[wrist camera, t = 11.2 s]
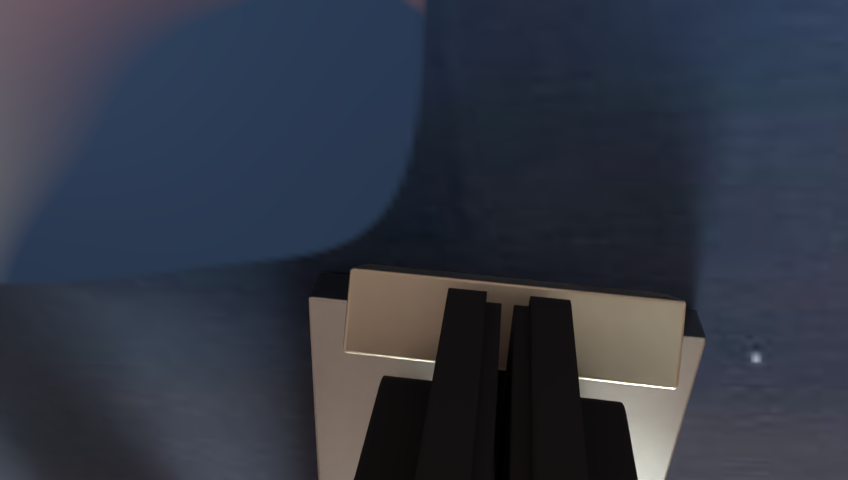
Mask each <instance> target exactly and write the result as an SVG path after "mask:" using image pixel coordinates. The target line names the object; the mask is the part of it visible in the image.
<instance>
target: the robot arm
mask: <svg viewBox="0 0 848 480" xmlns="http://www.w3.org/2000/svg"><path fill="white" fill-rule="evenodd" d="M486 299H487V291H477V290H467V289H457V288H448V293H447V298H446V304H445V310H444V315H443V321H442V327H441V333H440V338H439V344H438V350H437V355H436V361H435V367H434V373H433V378H432V381H430V380H421V379H412V378H403V377H394V376H385V375H384V376H383V377H382V379H381V382H380V385H379V388H378V392H377V396H376V399H375V403H374V407H373V410H372V414H371V418H370V422H369V425H368V429H367V433H366V436H365V440H364V444H363V447H362V451H361V455H360V458H359V462H358V466H357V470H356V473H355V477H354V480H492V476H493V457H494V439H495V420H496V402H497V383H498V364H499V346H500V327H501V308H502V303H493V302H486ZM494 480H638V477H637V472H636V466H635V460H634V454H633V449H632V443H631V437H630V431H629V426H628V420H627V414H626V410H625V407H624V405H623V403H622V402H618V401H609V400H600V399H591V398H582V397H580V388H579V378H578V367H577V357H576V347H575V336H574V326H573V316H572V305H571V301H570V300H567V299H557V298H547V297H537V296H530V300H529V305H528V306H522V305H514V308H513V315H512V323H511V332H510V340H509V349H508V357H507V365H506V374H505V382H504V390H503V399H502V407H501V415H500V424H499V432H498V440H497V449H496V460H495V475H494Z"/></svg>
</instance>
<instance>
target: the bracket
mask: <svg viewBox="0 0 848 480" xmlns="http://www.w3.org/2000/svg"><path fill="white" fill-rule="evenodd" d="M349 276H350V275H349V274H339V273H329V272H321V273H320V275H319V277H318V279H317V281H316V283H315V286H314V288H313V290H312V292H311V294H310V296H309V298H308V301H309V320H310V338H311V357H312V376H313V394H314V413H315V432H316V450H317V469H318V480H354V477H355V473H356V470H357V466H358V462H359V458H360V455H361V451H362V447H363V444H364V440H365V436H366V433H367V429H368V425H369V422H370V418H371V414H372V410H373V407H374V403H375V399H376V396H377V392H378V388H379V385H380V382H381V379H382V377H383V376H384V375H385V376H394V377H403V378H412V379H421V380H430V381H432V378H433V373H434V367H435V363H432V362H423V361H414V360H405V359H396V358H387V357H378V356H369V355H361V354H352V353H346V352H344V350H343V341H344V331H345V320H346V309H347V298H348V287H349ZM705 343H706V337H705V334H704V331H703V328H702V325H701V323H700V320H699V317H698V314H697V311H696V310H693V309H686V313H685V323H684V333H683V343H682V353H681V363H680V373H679V383H678V387H677V389H665V388H656V387H647V386H638V385H629V384H620V383H611V382H602V381H593V380H584V379H579V388H580V397H582V398H591V399H600V400H609V401H618V402H622V403H623V405H624V407H625V410H626V414H627V420H628V426H629V431H630V437H631V443H632V449H633V454H634V460H635V466H636V472H637V477H638V480H666V478H667V474H668V471H669V467H670V464H671V460H672V457H673V453H674V450H675V447H676V443H677V440H678V436H679V433H680V429H681V426H682V422H683V419H684V416H685V412H686V409H687V405H688V402H689V398H690V395H691V391H692V388H693V385H694V381H695V378H696V374H697V371H698V367H699V364H700V360H701V357H702V354H703V350H704V347H705Z"/></svg>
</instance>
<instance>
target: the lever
mask: <svg viewBox="0 0 848 480" xmlns="http://www.w3.org/2000/svg"><path fill="white" fill-rule="evenodd" d="M448 288H457V289H467V290H477V291H487V299H486V302H493V303H502V308H501V327H500V346H499V364H498V383H497V402H496V420H495V439H494V457H493V476H492V480H494V475H495V460H496V449H497V440H498V432H499V424H500V415H501V407H502V399H503V390H504V382H505V374H506V365H507V357H508V349H509V340H510V332H511V323H512V315H513V308H514V305H522V306H528V305H529V300H530V296H537V297H547V298H557V299H567V300H570V301H571V305H572V316H573V326H574V336H575V347H576V357H577V367H578V378H579V379H584V380H593V381H602V382H611V383H620V384H629V385H638V386H647V387H656V388H665V389H677V387H678V383H679V373H680V363H681V353H682V343H683V333H684V323H685V313H686V302H685V301H684V300H682V299H679V298H676V297H673V296H670V295H667V294H664V293H658V292H648V291H638V290H628V289H617V288H607V287H597V286H587V285H577V284H567V283H557V282H547V281H537V280H527V279H517V278H507V277H497V276H487V275H477V274H467V273H457V272H446V271H436V270H426V269H416V268H406V267H396V266H386V265H376V264H365V265H361V266H356V267H353V268H351V270H350V276H349V287H348V298H347V309H346V320H345V331H344V341H343V350H344V352H346V353H352V354H361V355H369V356H378V357H387V358H396V359H405V360H414V361H423V362H432V363H435V361H436V355H437V350H438V344H439V338H440V333H441V327H442V321H443V315H444V310H445V304H446V298H447V293H448Z"/></svg>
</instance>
